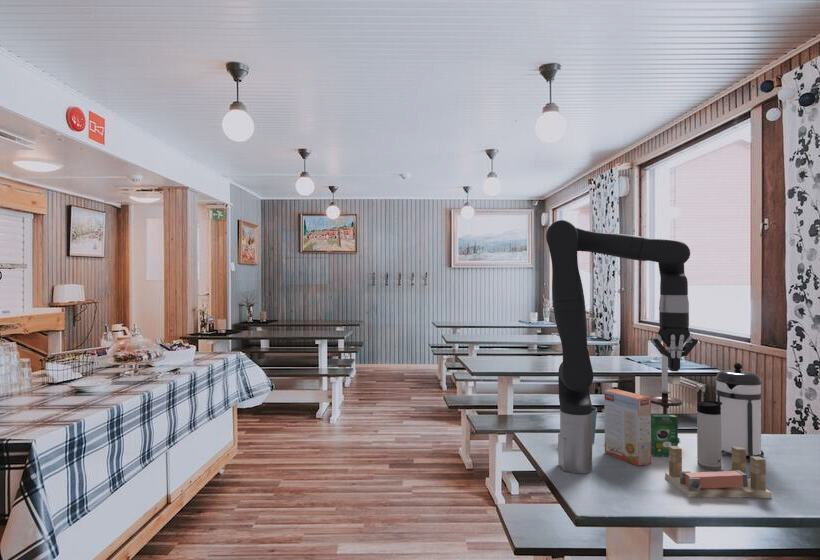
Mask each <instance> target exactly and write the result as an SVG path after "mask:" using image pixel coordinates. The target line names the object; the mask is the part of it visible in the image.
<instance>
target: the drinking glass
mask: <svg viewBox="0 0 820 560" xmlns="http://www.w3.org/2000/svg"><path fill="white" fill-rule="evenodd" d="M597 415H598V408H597V407H595V406H593V405H592V443H593V444H595V441H596V440H595V439H596V438H595V437H596V426H597V422H596V421H597Z"/></svg>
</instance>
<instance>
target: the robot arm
mask: <svg viewBox="0 0 820 560" xmlns="http://www.w3.org/2000/svg"><path fill="white" fill-rule="evenodd" d="M545 239H546V242H547V246H548V250H549V255H550V260H551V266H552V267H551V268H552V277H551V278H552V281H551V285H552V286H551V287H552V288H551V291H552V292H551V297H552V309H553V315H554V321H555V324H556V329H557V332H558V335H559V336H558V337H559V339H560V342H561V350H562V351H561V352H562V362H561V363H560V364H559V367H558V380H557V381H558V401H559V433H558V435H557V440H558V441H557V443H558V444H557V446H558V447H557V449H558V450H557V453H558V456H557V457H558V458H557V459H558V462H557V463H558V466H559V467H560V468H561V469H562V471H563V472H569V473H573V474H589V473H591V472H592V471H593V444H592V406H593V405H592V400H591V395H590V394H591V393H590V392H591V391H590V390H591V389H590V387H591V385H592V384H593V382H594V377H595V376H594V371H593V365H592V362H591V355H590V351H589V346H588V332H587V331H588V329H587V326H588V325H587V312H586V311H587V310H586V302H585V293H584V289H583V288H584V287H583V282H582V278H581V274H580V269H579V264H578V263H579V261H578V252H588V253H594V254H595V253H596V254H601V255H607V256H611V257H615V258H621V259H627V260H632V261H641V262H654V263H658V269H659V277H660V283H659V284H660V285H659V289H660V293H659V294H660V295H659V302H658V312H659V315H658V316H659V318H658V319H659V322H658V323H659V324H658V325H659V330H658V332H657V335H656V336H655V337H651V338H649V339H650V342H651V343H652V344H653V346H654V347H655V348H656V349H657V351H658V352H659V353H660V355H661V356H662V355H664V356H667V357H668V369H669V371H671V372H679V370H680V369H681V358H683V357H687V356H688V355H689V354H690V353H691V351H692V350H693V349H694V348H695V346H696V345H697V344H698V343H699V340H698V338H694V337H693V336H692V335H691V332H690V330H689V327H690V303H689V295H688V294H689V290H688V289H689V286H688V284H689V283H688V278H687V276H686V274H685V263H687V262H688V261H689V259H690V257H691V249H690V248H689V246H688V245H687V244H686V243H685V242H682V241H680V240H673V239H665V238H664V239H662V238H650V237H645V236H639V235H632V234H626V233H624V234H623V233H610V232H597V231H596V232H595V231H590V230H585V229H582V228H578V227H576V226H575V225H574V224H573V222H571V221H568V220H566V219H565V220H564V219H560V220H557V221H554V222H552V224H550V225H549V227H548V228H547V230H546V233H545ZM662 343H663V344H664V343H665V347H666V349H665V348H664V345H663V344H662Z"/></svg>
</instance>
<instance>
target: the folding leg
mask: <svg viewBox="0 0 820 560" xmlns="http://www.w3.org/2000/svg"><path fill="white" fill-rule="evenodd" d="M689 478H700V488H721V487H748V484H747V478H748V474H747V473H746V474H745V473H743V472H741V471H740V470H735V471H732V470H722V471H721V470H719V471H700V472H692V473H685V484H686V485H687V486H688V487H689Z"/></svg>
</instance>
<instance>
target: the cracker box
mask: <svg viewBox="0 0 820 560" xmlns="http://www.w3.org/2000/svg"><path fill="white" fill-rule="evenodd" d="M651 414H652V403H651V396H646V395H643V394H642V395H641V394H638V393H634V392H629V391H627V390H622V389H618V388H613V389H605V390H604V453H605V452H606V454H608V455H611V456H612V457H615V458H618V459H621V460H623V461H625V462H627V463H630V464H633V465H634V466H637V467H640V466H646V465H651V464H652V455H651Z"/></svg>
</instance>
